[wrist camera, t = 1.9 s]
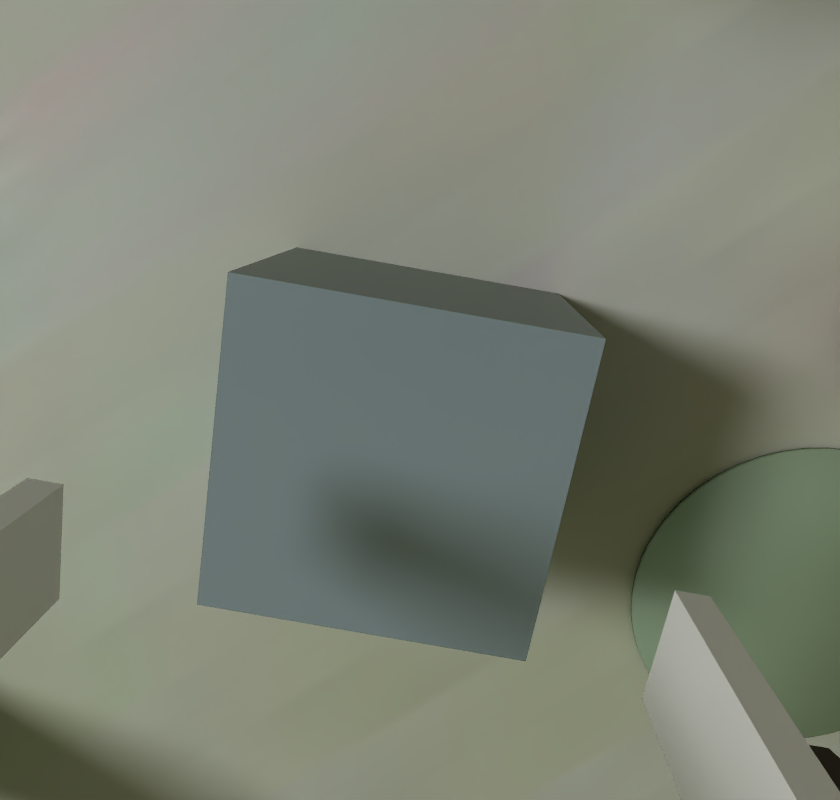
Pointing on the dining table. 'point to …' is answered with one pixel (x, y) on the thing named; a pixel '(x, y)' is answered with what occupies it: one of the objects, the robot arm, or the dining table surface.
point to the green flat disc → (760, 574)
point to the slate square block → (392, 449)
